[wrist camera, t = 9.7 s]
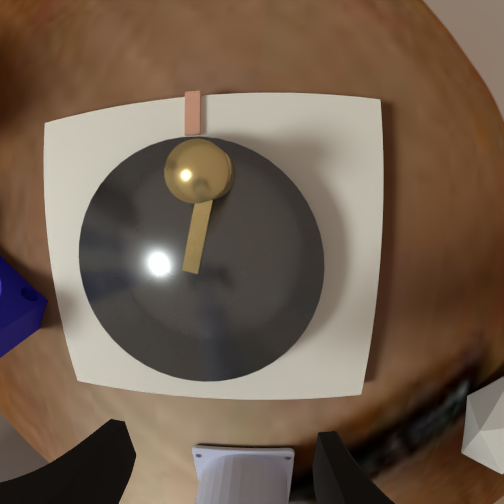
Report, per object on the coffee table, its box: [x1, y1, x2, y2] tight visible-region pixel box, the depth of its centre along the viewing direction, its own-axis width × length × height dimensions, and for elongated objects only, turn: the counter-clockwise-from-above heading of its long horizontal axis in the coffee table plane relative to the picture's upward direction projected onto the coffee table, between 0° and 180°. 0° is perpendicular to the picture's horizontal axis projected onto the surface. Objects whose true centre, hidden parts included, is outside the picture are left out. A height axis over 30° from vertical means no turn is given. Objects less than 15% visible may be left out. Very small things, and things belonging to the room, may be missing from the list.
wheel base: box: [44, 91, 383, 400], centre depth 17 cm, size 18×20×2 cm
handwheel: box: [79, 136, 325, 382], centre depth 14 cm, size 13×13×4 cm
